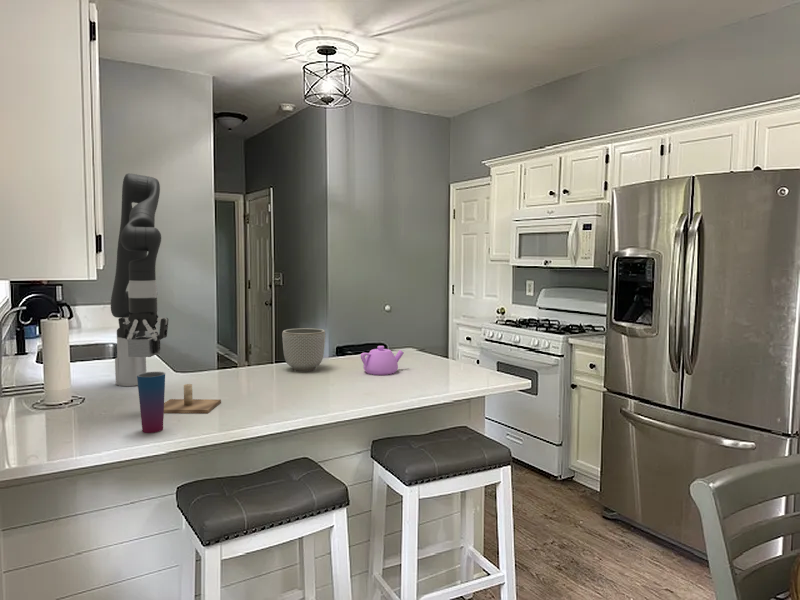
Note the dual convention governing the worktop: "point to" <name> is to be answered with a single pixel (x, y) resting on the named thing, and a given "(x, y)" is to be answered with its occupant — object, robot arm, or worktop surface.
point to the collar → (141, 347)
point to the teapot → (381, 361)
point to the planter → (303, 348)
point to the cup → (151, 400)
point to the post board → (190, 408)
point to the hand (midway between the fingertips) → (144, 352)
